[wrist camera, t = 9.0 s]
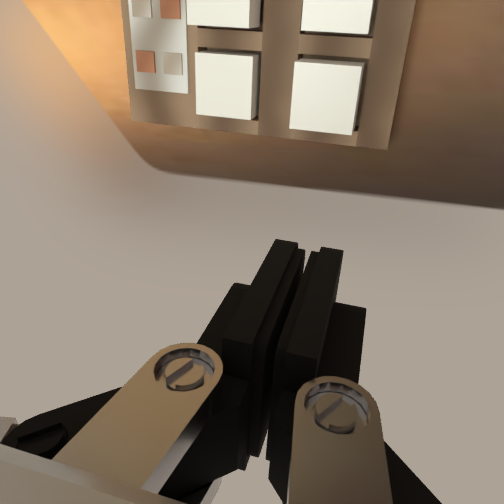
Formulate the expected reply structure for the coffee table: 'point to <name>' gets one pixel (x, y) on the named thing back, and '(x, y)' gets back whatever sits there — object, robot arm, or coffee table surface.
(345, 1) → the button
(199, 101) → the button
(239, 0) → the button
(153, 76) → the button board
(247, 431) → the robot arm
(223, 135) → the coffee table surface
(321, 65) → the button
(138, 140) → the coffee table surface
